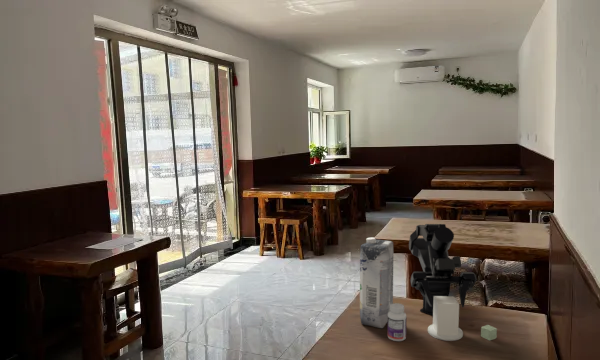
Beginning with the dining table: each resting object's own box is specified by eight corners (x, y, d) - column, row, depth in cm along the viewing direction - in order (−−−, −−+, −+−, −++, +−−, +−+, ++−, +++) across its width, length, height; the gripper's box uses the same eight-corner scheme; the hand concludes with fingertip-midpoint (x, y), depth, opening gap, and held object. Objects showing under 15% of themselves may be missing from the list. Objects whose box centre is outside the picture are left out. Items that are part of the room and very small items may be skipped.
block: (480, 336, 134) (481, 326, 134) (487, 334, 135) (488, 324, 135) (489, 340, 131) (489, 331, 131) (496, 338, 133) (496, 328, 132)
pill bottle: (394, 331, 138) (394, 300, 136) (409, 337, 134) (410, 305, 132) (383, 337, 134) (384, 305, 133) (399, 343, 130) (399, 311, 129)
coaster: (421, 332, 137) (421, 329, 137) (439, 322, 143) (439, 320, 143) (451, 344, 129) (451, 341, 129) (469, 333, 136) (469, 330, 136)
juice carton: (394, 317, 147) (395, 236, 144) (384, 330, 138) (385, 244, 135) (368, 312, 151) (369, 233, 148) (357, 325, 142) (357, 240, 139)
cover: (432, 325, 139) (433, 296, 138) (452, 326, 139) (453, 296, 138) (437, 334, 133) (438, 303, 132) (458, 335, 133) (459, 304, 132)
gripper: (412, 245, 138) (419, 294, 128) (476, 246, 136) (487, 295, 127) (408, 263, 146) (413, 309, 137) (467, 263, 145) (476, 311, 136)
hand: (447, 306), depth 134 cm, fingers open, 9 cm apart
